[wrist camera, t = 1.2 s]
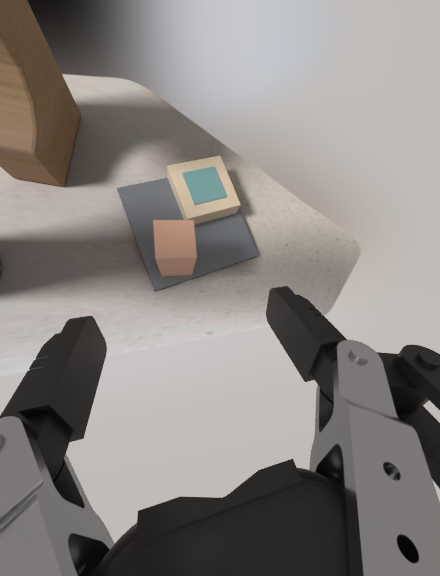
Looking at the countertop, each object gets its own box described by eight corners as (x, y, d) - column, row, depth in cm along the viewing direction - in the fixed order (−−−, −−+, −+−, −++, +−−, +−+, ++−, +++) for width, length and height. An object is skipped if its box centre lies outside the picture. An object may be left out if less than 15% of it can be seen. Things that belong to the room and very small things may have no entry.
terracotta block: (191, 275, 35) (196, 257, 25) (161, 276, 34) (155, 258, 24) (189, 247, 35) (193, 220, 26) (160, 248, 34) (153, 220, 25)
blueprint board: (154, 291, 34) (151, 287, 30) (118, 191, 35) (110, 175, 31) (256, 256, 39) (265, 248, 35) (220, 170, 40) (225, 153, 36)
